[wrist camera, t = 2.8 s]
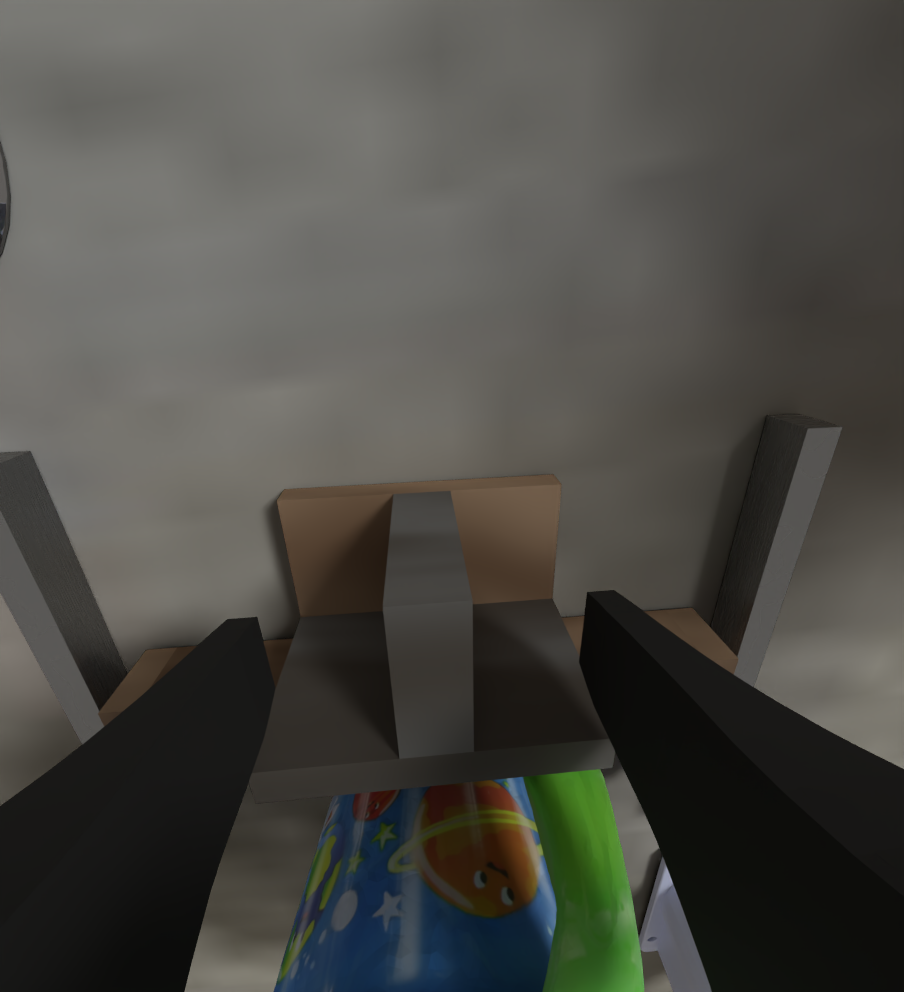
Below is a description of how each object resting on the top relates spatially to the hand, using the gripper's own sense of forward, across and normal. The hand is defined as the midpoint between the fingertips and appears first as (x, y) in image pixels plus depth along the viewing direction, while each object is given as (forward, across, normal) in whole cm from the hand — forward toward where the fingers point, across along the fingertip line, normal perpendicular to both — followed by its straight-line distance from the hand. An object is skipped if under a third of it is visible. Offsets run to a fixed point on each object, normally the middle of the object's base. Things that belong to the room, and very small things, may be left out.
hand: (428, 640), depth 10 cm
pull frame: (+5, 0, +5) cm, 6 cm away
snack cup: (+5, 0, +11) cm, 12 cm away
